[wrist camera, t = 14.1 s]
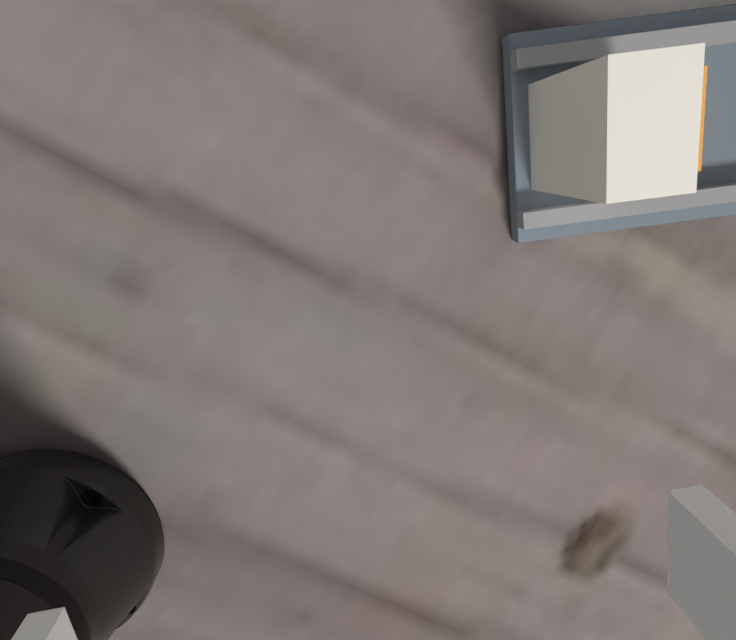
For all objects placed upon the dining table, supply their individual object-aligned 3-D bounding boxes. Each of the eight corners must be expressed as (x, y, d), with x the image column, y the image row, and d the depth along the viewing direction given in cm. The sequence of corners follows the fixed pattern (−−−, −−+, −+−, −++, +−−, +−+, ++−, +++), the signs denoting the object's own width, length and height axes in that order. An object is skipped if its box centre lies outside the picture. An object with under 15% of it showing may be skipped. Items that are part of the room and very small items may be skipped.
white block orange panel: (528, 84, 32) (608, 54, 22) (609, 74, 32) (724, 40, 22) (531, 189, 33) (606, 203, 24) (608, 180, 33) (714, 190, 24)
